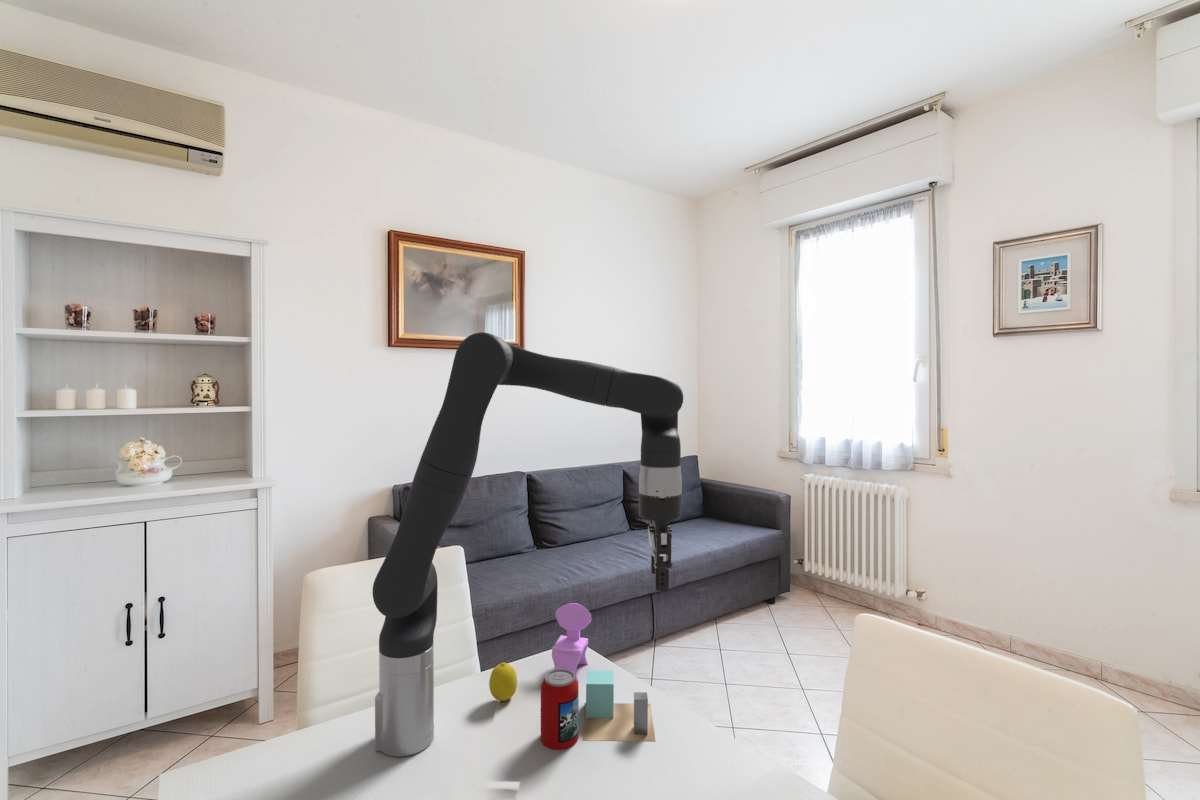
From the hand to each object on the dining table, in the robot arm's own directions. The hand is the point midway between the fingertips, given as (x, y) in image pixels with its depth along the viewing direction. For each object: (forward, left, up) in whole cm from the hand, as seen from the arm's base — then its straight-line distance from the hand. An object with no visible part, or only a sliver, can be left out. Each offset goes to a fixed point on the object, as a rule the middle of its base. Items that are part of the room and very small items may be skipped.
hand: (659, 581), depth 103 cm
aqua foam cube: (-10, +9, -28) cm, 32 cm away
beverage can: (-18, 0, -30) cm, 34 cm away
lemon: (-30, +13, -30) cm, 44 cm away
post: (-3, +2, -28) cm, 29 cm away
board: (-7, +5, -29) cm, 31 cm away
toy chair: (-17, +24, -30) cm, 42 cm away
